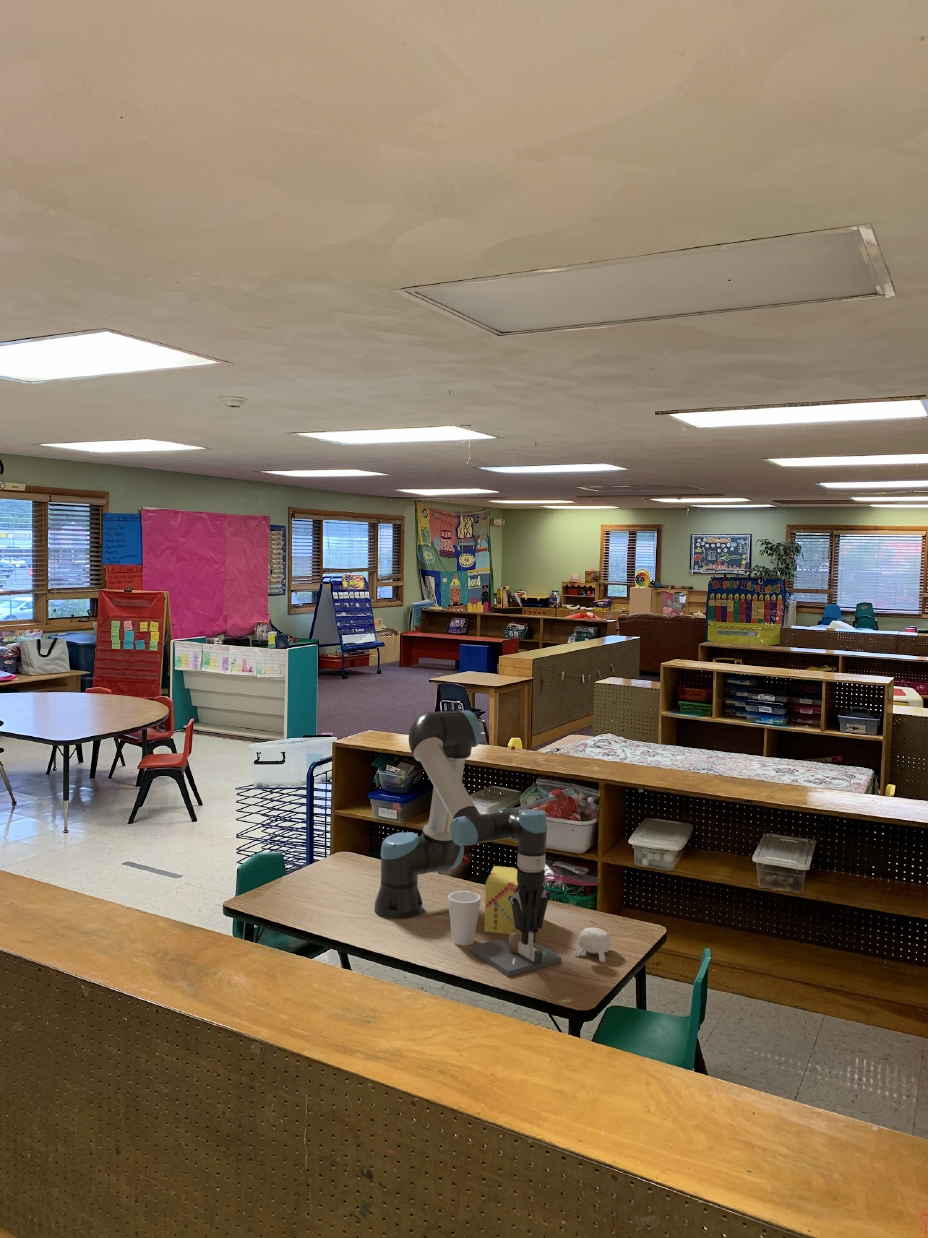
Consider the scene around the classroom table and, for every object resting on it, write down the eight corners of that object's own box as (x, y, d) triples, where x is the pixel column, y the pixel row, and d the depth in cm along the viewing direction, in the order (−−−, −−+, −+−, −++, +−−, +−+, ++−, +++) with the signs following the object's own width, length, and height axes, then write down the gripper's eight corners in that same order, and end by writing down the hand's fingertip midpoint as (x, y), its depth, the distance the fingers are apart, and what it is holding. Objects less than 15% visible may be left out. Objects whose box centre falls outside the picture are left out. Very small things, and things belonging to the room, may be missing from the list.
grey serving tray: (470, 951, 242) (470, 945, 241) (522, 938, 251) (522, 933, 251) (507, 977, 226) (508, 970, 226) (561, 962, 236) (561, 956, 236)
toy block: (534, 937, 253) (536, 886, 252) (484, 931, 256) (485, 882, 255) (540, 918, 268) (541, 870, 267) (492, 913, 271) (494, 866, 270)
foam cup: (459, 950, 242) (460, 905, 241) (440, 939, 249) (441, 895, 249) (485, 943, 248) (487, 898, 247) (466, 932, 255) (468, 889, 255)
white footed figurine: (583, 956, 247) (567, 955, 235) (587, 925, 250) (572, 923, 237) (612, 963, 244) (597, 962, 231) (616, 931, 246) (602, 929, 233)
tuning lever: (506, 949, 239) (506, 932, 239) (516, 946, 241) (516, 930, 241) (535, 966, 229) (535, 948, 229) (545, 963, 231) (545, 945, 231)
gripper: (519, 875, 226) (516, 965, 226) (558, 869, 232) (555, 956, 233) (503, 867, 232) (500, 954, 232) (541, 862, 239) (538, 946, 239)
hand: (527, 955), depth 232 cm, fingers closed
